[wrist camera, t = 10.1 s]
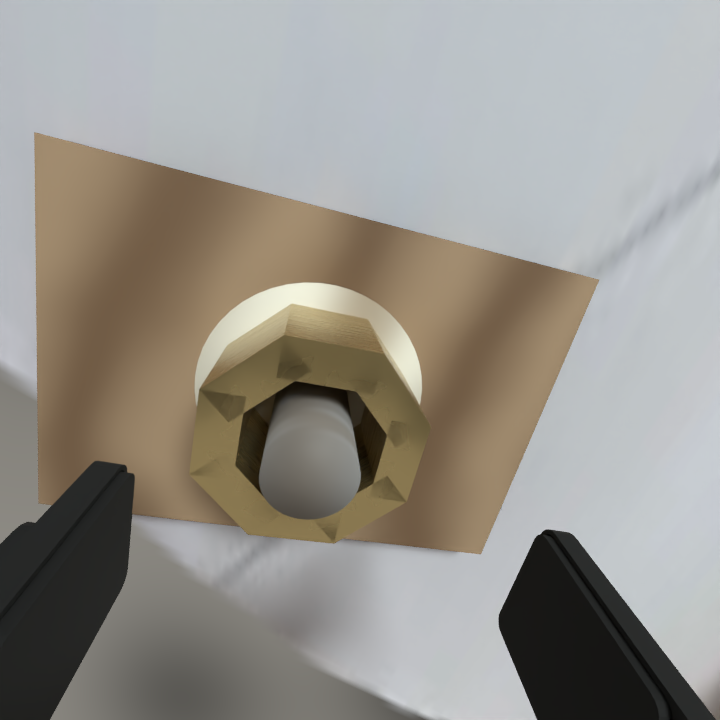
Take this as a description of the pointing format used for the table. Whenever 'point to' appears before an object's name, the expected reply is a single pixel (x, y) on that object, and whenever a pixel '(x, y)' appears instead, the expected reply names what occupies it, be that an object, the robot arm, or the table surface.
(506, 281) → the post plate
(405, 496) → the ring
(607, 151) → the table surface
